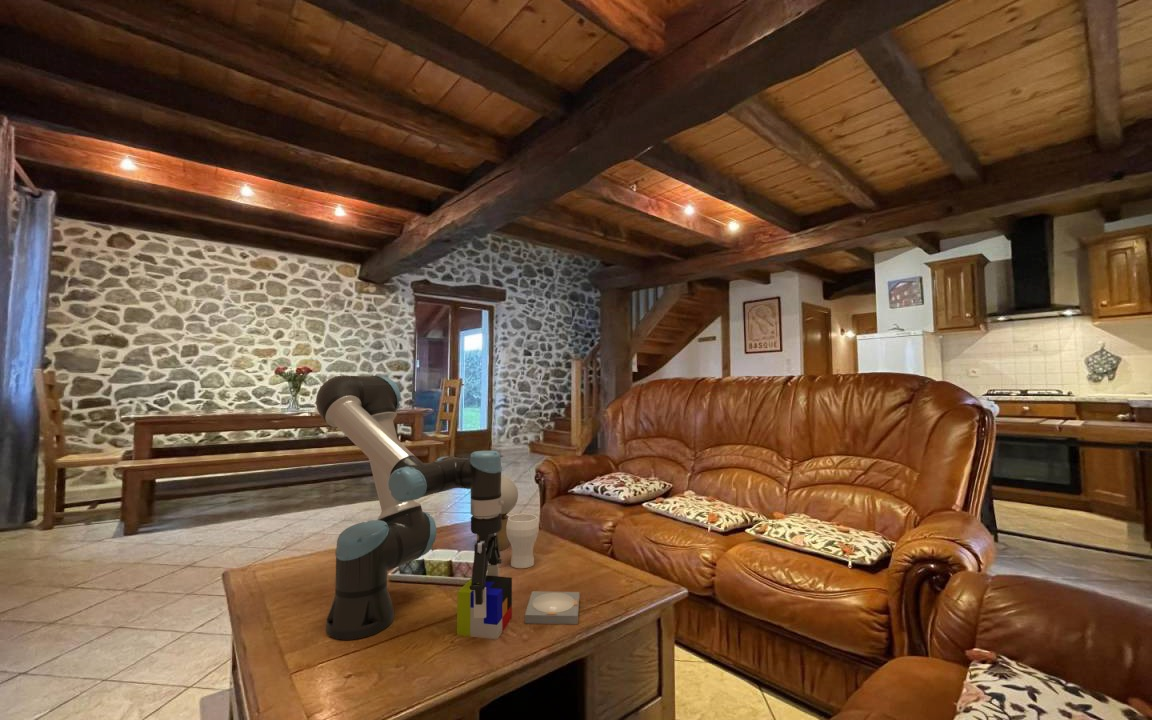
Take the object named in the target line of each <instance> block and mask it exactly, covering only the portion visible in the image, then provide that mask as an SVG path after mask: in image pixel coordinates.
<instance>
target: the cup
mask: <svg viewBox="0 0 1152 720" xmlns="http://www.w3.org/2000/svg"><path fill="white" fill-rule="evenodd" d="M539 528H540V525H539V521H538V517H537V515H535V514H532V513H517V514H512V515H509V516H508V521H507V525H506V532H507V537H508V543H509V545H510V546H511V557H510V567H513V568H515V569H526V568H531V567H532V566H534V565H535V558H534V545H535V543H536V541H537V539H538V535H539V532H540V531H539Z"/></svg>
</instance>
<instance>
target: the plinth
mask: <svg viewBox="0 0 1152 720" xmlns="http://www.w3.org/2000/svg"><path fill="white" fill-rule="evenodd" d="M579 610H580V591H538V590H537V591H533V590H532V591H531V594H530V596H529V599H528V604H527V607H526V610H525V613H524V624H534V625H537V624H538V625H539V624H540V625H541V624H542V625H543V624H544V625H545V624H547V625H548V624H549V625H553V624H554V625H578V623H579Z"/></svg>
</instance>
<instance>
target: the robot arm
mask: <svg viewBox="0 0 1152 720" xmlns="http://www.w3.org/2000/svg"><path fill="white" fill-rule="evenodd" d="M315 398H316V399H315V405H316V410H317V412H318V414H319V416H320V417H321V418H322V419H323V420H324V421H325V423H326V424H328V425H329V426H330V427H333V428H338V429H339V431H341V432H342V434H344V435H345V436H346V437H347V438H348V439H349V440H350V441H351V443H353V444H354V445H355V446H356V447H357V448H358V449H359V450H360V451H361V452H363V454H364V456H366V457H367V458H368V460H369V465H370V468H371V473H372V477H373V481H374V486H375V489H376V493H377V498H378V501H379V506H380V510H381V512H380V515H379V516H378V518H377V520H376V519H375V520H374V519H372V520H367V521H362V522H358V523H355V524H352V525H351V526H348V527H347V528H345V529H344V530H342V531H341V533H340V534H339V535H338V537H337V540H336V548H335V552H334V553H335V554H334V556H335V579H334V580H335V582H334V583H335V585H334V587H335V591H334V593H335V594H334V599H333V601H332V604H331V606H330V609H329V612H328V615H327V618H326V622H325V633H326V635H327V634H328V635H329V636H330V637H329V636H328V635H327V636H328V637H329V638H331V637H332V638H331V639H334V638H335V640H339V641H343V640H344V641H348V640H349V641H350V640H351V641H352V640H358V639H362V638H367V637H369V636H373V635H375V634H377V633H380V632H382V631H383V630H385V629H386V628H388V627H389V626H390V625H391V624H392V623H393V621H394V615H395V610H394V609H395V607H394V604H393V601H392V599H391V595H390V592H389V590H388V572H389V571H391V570H393V569H396V568H398V567H400V566H403V565H405V564H407V563H410V562H412V561H415V560H418V559H419V558H421V557H423V556H424V555H426V554H428V553H429V552H430V551H431V550H432V549H433V546H434V543H435V542H436V538H437V525H436V521H435V520H434V518H433V516H432V515H430V513H429V512H426V511H423V508H422V505H421V503H419V502H417V501H416V500H418V499H421V498H423V497H428V496H430V495H434V494H438V493H441V492H445V491H449V490H452V489H466V490H470V515H471V517H470V531H471V533H472V534H474V535H476V536H477V535H479V540H477V539H476V542H475V543H474V546H473V547H474V555H473V562H472V563H473V565H472V574H471V578H472V582H471V586H470V590H474V618H486V587H485V581H486V575H487V576H499V565H502V562H503V561H502V560H503V559H502V558H501V553H500V552H501V551H499V543H498V536H497V532H499V531H500V530H501V529H502V515H501V514H500V513H501V505H503V504H504V502H503V501H501V476H502V471H503V470H502V469H503V467H502V460H501V453H500V452H499V451H496V450H477V451H476V450H475V451H473V452H472V453H470V458H464V457H455V456H445V457H444V456H443V457H439V458H437V459H436V460H434V461H431V462H426V463H425V462H422V460H420V459H419V458H418V457H417V456H416V455H414V454H413V452H411V451H410V450H409V449H408V448H407V447H406V446H405V445H404V444H403V443H402V442H401V441H399V440H398V436H397V432H396V428H395V423H394V420H395V419H396V417H397V416H398V413H397V411H398V409H399V408H400V406H401V403H400V402H401V401H402V395H401V392H400V388H399V387H398V385H397V384H396V382H395V381H394V380H392V379H391V378H389V377H387V376H379V375H342V374H341V375H338V376H337V375H336V376H334V377H332V378H329V379H328V380H326V381H325V382H324V383H323V384H322V385H321V386H320V388H319V390H318V391H317V393H316V397H315ZM499 577H500V576H499ZM477 583H479V584H477ZM366 636H367V637H366ZM340 639H341V640H340Z"/></svg>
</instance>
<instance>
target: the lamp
mask: <svg viewBox="0 0 1152 720" xmlns="http://www.w3.org/2000/svg"><path fill="white" fill-rule="evenodd" d="M518 500H519V491H518V488H517V485H516V483H515V482H513V480H511V479H510V477H509V478H508V477H506V476H502V475H501V501H503V502H504V504H503V505H501V513H500V514H501V515H502V529H501V530H500V531H499V532H497V536H498V543H499V551H500V552H501V551H503V550H506V549H507V548H508V547H509V540H508V537H507V532H506V525H507V521H508V518H509V516H508V514H509V513H510V512H511V511H512V510H513V509H515V507H516V504H517V503H518ZM477 540H479V535H477V534H476V541H477Z"/></svg>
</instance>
